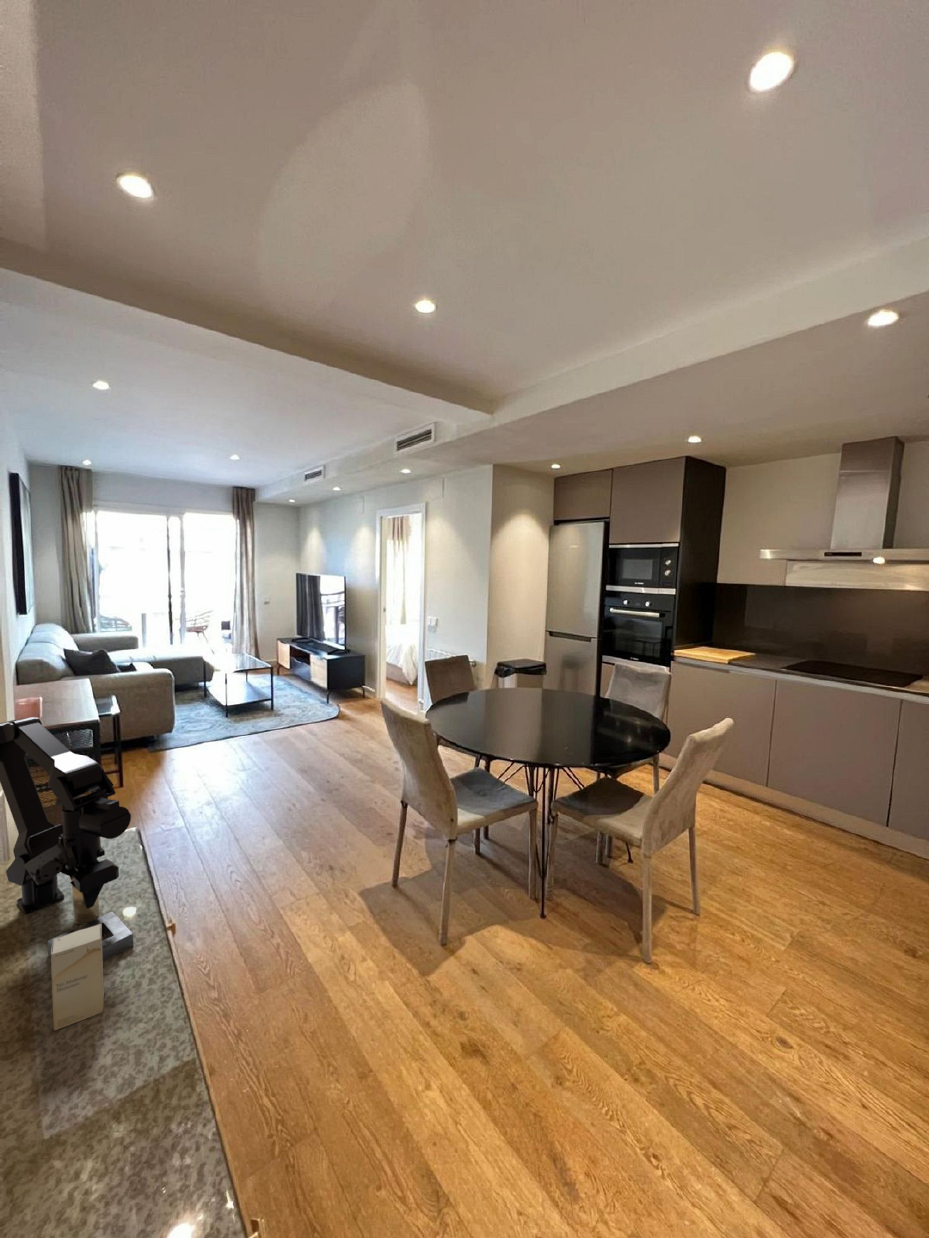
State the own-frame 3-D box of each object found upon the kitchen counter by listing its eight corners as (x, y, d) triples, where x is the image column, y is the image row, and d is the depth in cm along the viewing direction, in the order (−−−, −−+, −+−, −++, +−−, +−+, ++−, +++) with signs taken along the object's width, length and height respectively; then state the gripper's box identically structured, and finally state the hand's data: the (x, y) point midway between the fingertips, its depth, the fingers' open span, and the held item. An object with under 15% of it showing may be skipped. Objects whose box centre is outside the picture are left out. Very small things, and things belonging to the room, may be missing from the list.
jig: (48, 953, 90) (47, 940, 89) (112, 923, 98) (112, 911, 97) (66, 981, 84) (65, 967, 83) (133, 946, 92) (132, 933, 91)
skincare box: (53, 1032, 74) (48, 956, 73) (56, 1011, 78) (51, 938, 77) (105, 1011, 78) (101, 938, 77) (105, 992, 81) (101, 922, 80)
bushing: (71, 918, 99) (68, 875, 98) (95, 908, 102) (92, 865, 101) (78, 927, 96) (75, 882, 96) (102, 916, 100) (100, 872, 99)
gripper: (15, 829, 97) (20, 905, 98) (43, 862, 86) (49, 947, 87) (84, 808, 106) (88, 878, 107) (117, 836, 94) (122, 913, 96)
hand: (86, 902), depth 99 cm, fingers closed on bushing, 4 cm apart
